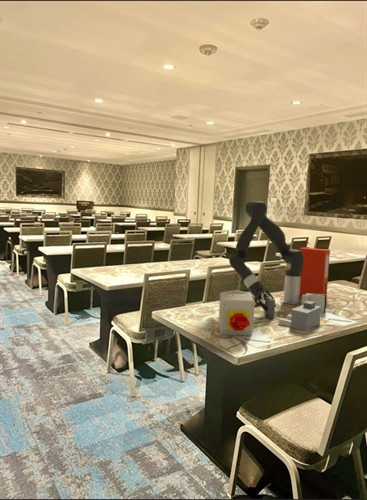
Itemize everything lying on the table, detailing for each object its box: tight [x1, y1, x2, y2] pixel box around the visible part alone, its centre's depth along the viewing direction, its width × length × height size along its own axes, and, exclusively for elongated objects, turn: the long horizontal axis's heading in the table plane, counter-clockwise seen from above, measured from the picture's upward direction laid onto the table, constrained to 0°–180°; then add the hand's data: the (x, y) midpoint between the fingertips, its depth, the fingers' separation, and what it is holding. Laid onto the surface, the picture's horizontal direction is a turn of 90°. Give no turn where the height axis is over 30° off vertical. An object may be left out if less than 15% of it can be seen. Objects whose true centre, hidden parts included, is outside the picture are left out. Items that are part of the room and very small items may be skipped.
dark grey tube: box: [263, 297, 276, 320], centre depth 195 cm, size 5×5×11 cm
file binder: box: [298, 247, 331, 297], centre depth 243 cm, size 8×17×32 cm, turn 48°
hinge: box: [301, 293, 328, 314], centre depth 208 cm, size 14×5×10 cm, turn 87°
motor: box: [278, 301, 322, 332], centre depth 187 cm, size 20×15×11 cm
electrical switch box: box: [218, 289, 255, 336], centre depth 168 cm, size 15×15×20 cm
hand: (271, 308), depth 195 cm, fingers open, 8 cm apart
